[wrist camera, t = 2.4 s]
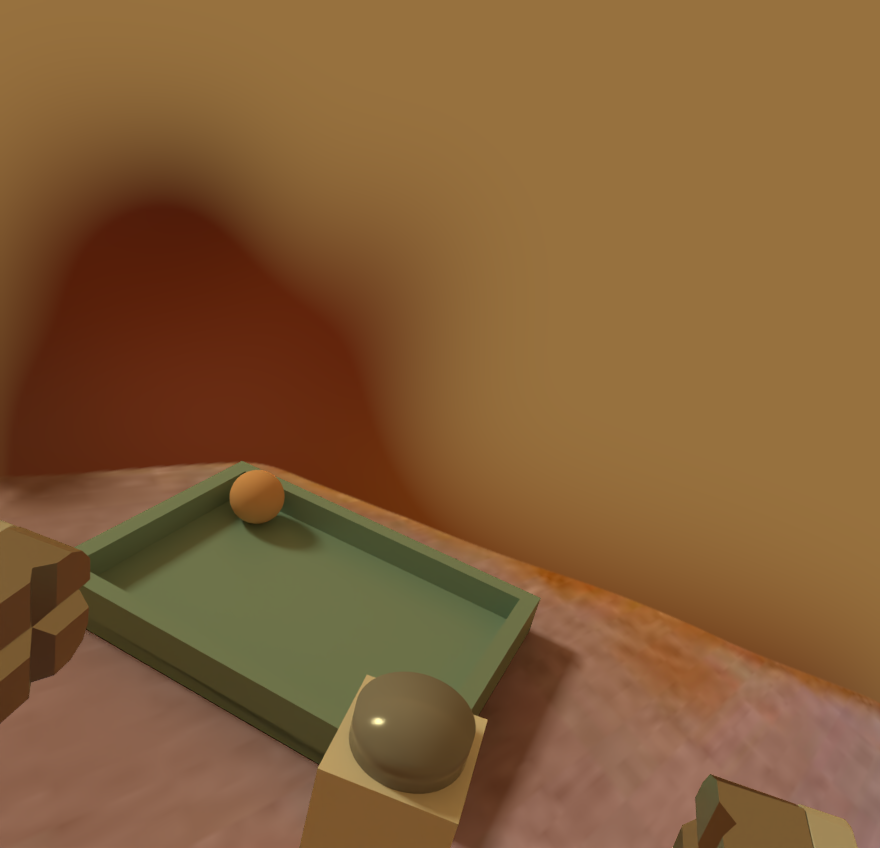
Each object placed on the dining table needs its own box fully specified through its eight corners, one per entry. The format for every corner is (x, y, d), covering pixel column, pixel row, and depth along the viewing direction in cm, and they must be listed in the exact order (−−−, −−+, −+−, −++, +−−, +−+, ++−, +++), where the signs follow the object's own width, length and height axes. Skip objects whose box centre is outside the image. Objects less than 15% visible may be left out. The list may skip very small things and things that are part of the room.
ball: (215, 519, 49) (221, 472, 48) (248, 499, 52) (255, 454, 51) (259, 540, 48) (266, 493, 47) (290, 519, 51) (298, 474, 50)
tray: (41, 603, 40) (43, 563, 39) (237, 492, 54) (242, 461, 53) (415, 820, 34) (428, 779, 33) (529, 631, 48) (540, 598, 47)
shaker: (275, 950, 28) (324, 739, 24) (324, 843, 32) (373, 648, 28) (396, 1003, 27) (467, 796, 23) (430, 886, 31) (496, 694, 27)
